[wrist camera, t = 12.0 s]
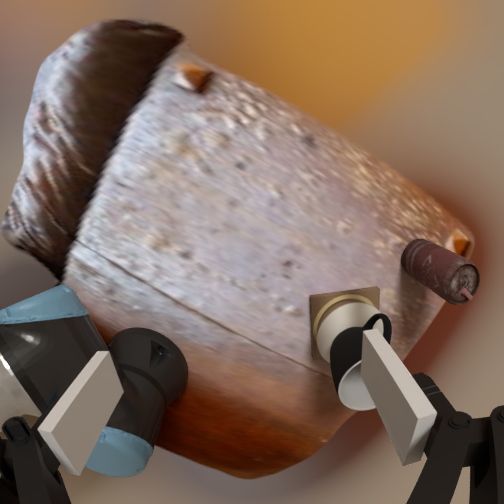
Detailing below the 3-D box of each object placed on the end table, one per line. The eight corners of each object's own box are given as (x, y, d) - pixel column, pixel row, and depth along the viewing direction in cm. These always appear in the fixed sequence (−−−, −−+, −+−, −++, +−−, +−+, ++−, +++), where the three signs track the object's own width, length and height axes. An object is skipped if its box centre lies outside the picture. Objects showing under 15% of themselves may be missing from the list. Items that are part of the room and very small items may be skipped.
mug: (364, 373, 46) (384, 413, 36) (313, 363, 45) (326, 406, 35) (396, 307, 43) (428, 338, 33) (344, 292, 42) (368, 325, 32)
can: (416, 282, 47) (462, 316, 34) (393, 259, 46) (438, 290, 33) (438, 254, 46) (489, 280, 33) (417, 230, 45) (467, 251, 32)
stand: (312, 355, 50) (317, 372, 45) (309, 295, 48) (315, 308, 43) (374, 345, 50) (384, 361, 45) (377, 286, 47) (388, 297, 43)
